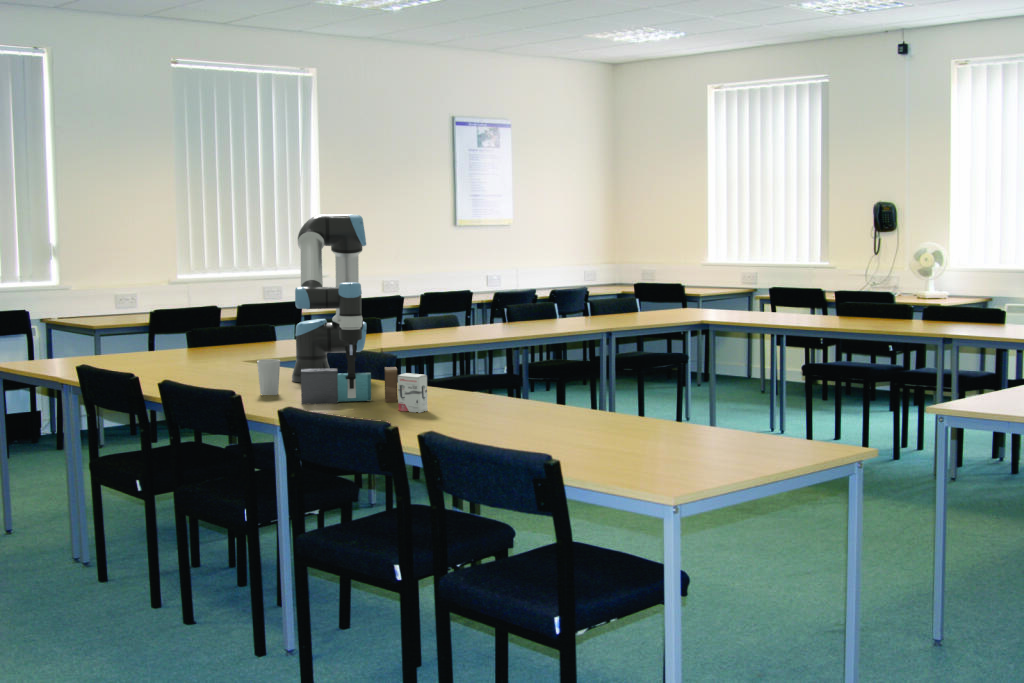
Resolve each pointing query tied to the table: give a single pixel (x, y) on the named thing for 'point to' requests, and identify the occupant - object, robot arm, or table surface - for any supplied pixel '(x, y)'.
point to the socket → (391, 384)
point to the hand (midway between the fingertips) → (351, 396)
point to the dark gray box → (319, 386)
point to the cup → (269, 376)
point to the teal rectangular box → (361, 387)
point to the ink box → (412, 392)
